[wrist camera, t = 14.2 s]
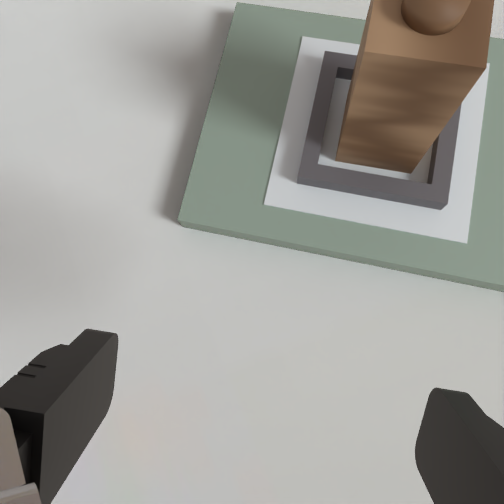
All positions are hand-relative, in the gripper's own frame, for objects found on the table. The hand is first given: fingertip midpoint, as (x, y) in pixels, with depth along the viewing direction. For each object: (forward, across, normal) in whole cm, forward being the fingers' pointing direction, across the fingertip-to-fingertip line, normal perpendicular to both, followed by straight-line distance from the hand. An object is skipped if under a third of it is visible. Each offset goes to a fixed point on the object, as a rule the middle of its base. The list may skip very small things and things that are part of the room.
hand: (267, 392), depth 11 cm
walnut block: (+18, -6, -8) cm, 21 cm away
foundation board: (+20, -6, -8) cm, 22 cm away
